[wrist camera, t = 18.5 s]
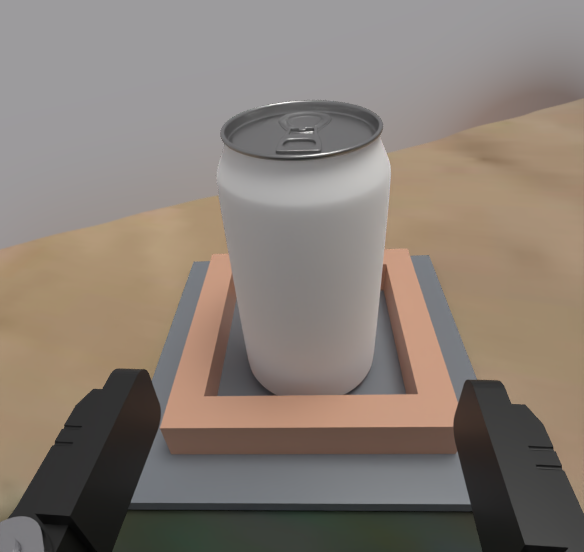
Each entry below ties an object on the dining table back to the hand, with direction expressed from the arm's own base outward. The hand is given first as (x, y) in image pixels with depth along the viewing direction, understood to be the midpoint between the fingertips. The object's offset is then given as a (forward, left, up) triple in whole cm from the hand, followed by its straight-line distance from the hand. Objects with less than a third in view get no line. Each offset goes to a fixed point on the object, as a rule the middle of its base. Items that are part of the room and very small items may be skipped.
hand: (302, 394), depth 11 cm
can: (+7, -4, -8) cm, 11 cm away
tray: (+8, -4, -8) cm, 12 cm away
